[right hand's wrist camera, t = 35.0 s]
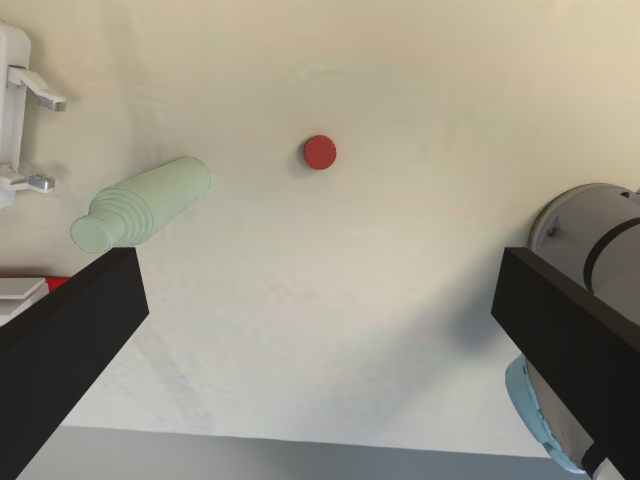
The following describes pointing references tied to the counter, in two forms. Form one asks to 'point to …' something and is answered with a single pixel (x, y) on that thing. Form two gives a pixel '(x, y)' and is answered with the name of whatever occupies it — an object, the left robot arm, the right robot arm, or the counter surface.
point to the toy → (23, 294)
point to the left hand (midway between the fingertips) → (56, 147)
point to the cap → (320, 152)
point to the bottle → (140, 205)
